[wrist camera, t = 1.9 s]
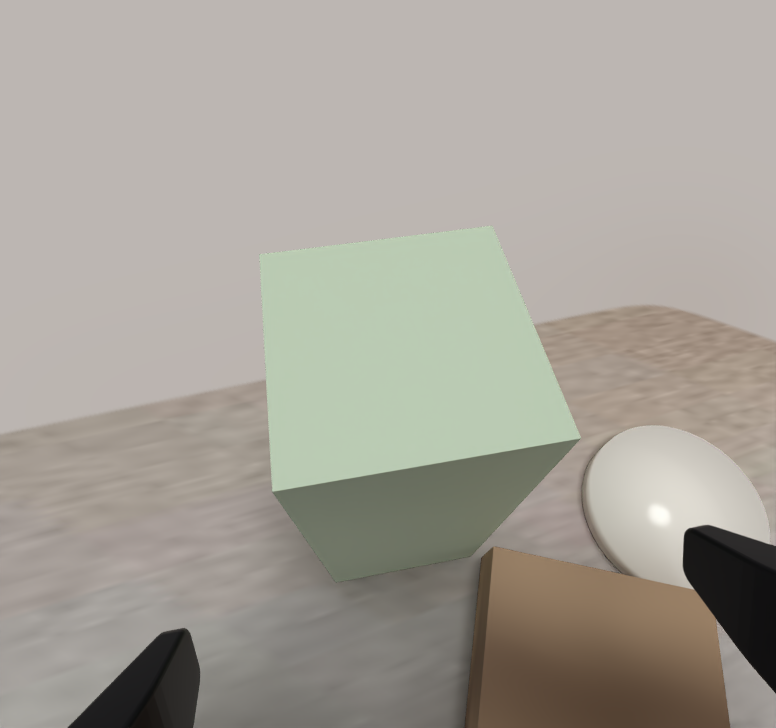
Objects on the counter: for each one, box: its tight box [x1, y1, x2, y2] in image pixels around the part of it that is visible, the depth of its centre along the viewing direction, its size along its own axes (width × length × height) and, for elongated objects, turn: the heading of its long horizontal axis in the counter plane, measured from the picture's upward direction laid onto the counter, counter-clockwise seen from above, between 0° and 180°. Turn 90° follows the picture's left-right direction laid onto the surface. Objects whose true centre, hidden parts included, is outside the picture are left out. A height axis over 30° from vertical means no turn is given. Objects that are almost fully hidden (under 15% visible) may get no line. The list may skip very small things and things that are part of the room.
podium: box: [465, 547, 730, 728], centre depth 15 cm, size 9×8×2 cm
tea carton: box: [259, 226, 581, 583], centre depth 15 cm, size 6×6×12 cm
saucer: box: [582, 425, 770, 590], centre depth 20 cm, size 7×7×1 cm
